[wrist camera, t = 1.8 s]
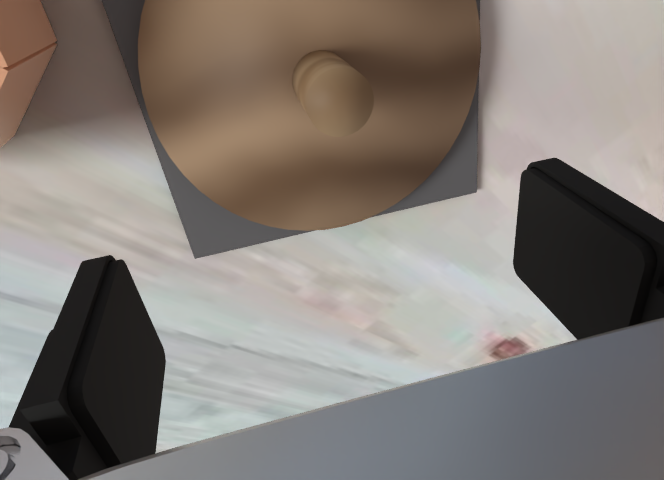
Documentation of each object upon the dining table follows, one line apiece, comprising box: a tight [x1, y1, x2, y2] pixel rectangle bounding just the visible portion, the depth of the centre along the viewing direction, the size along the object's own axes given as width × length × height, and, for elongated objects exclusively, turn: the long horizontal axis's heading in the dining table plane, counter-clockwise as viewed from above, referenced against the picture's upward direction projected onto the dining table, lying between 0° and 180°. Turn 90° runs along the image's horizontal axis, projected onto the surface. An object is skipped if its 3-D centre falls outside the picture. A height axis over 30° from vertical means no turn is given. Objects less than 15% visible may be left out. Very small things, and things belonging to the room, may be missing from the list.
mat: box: [102, 0, 480, 259], centre depth 28 cm, size 20×20×1 cm
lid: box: [138, 0, 481, 231], centre depth 25 cm, size 19×19×6 cm
